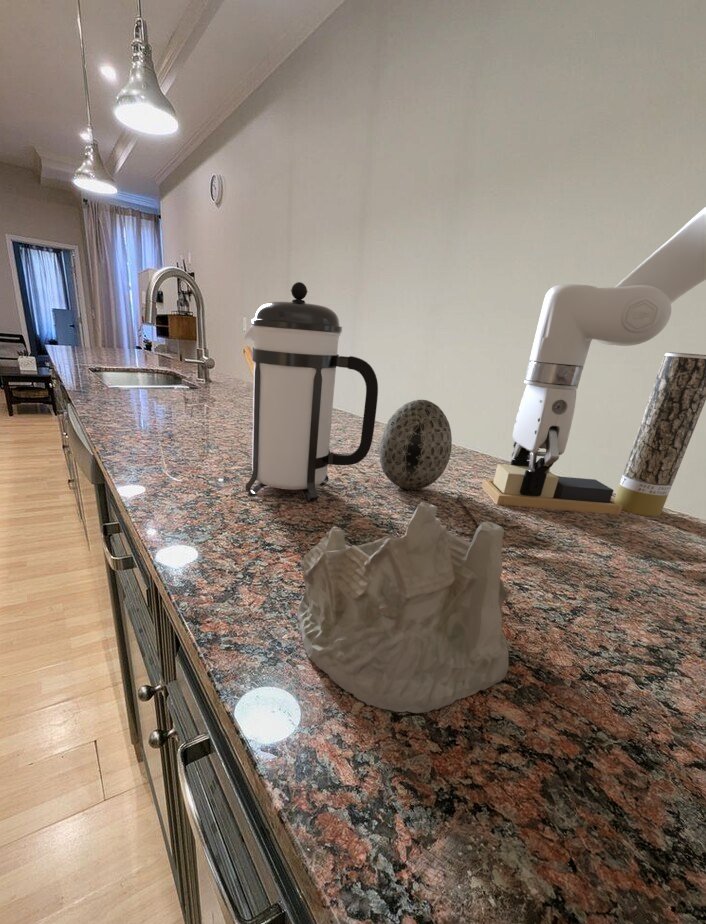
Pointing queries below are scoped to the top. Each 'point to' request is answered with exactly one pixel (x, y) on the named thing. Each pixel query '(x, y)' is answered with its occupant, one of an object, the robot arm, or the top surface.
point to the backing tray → (549, 501)
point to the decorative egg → (415, 445)
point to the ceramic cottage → (407, 614)
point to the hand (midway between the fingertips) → (522, 487)
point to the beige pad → (520, 480)
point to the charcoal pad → (582, 490)
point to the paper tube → (663, 434)
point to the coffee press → (300, 395)
